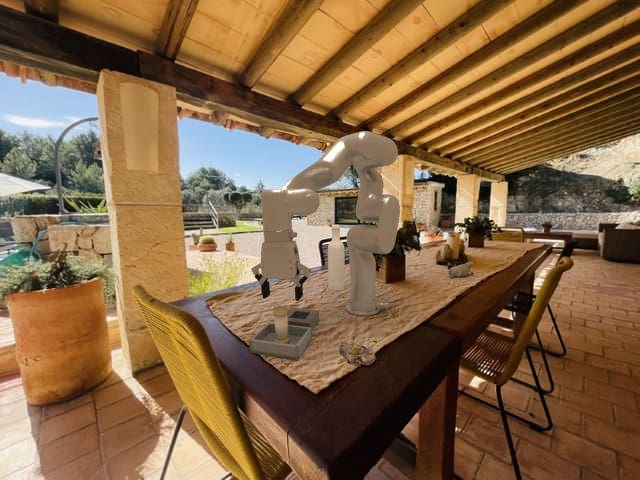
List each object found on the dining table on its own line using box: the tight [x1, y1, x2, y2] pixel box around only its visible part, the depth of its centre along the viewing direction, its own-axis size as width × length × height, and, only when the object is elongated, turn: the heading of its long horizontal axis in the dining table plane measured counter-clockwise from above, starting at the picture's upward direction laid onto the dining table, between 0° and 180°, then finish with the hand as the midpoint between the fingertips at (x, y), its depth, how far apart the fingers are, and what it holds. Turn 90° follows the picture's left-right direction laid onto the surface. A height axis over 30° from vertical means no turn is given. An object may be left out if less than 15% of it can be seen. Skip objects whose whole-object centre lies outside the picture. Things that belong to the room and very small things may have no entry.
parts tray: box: [248, 322, 313, 361], centre depth 72 cm, size 14×11×4 cm
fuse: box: [272, 305, 289, 344], centre depth 71 cm, size 4×4×10 cm
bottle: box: [327, 224, 346, 292], centre depth 120 cm, size 8×8×30 cm
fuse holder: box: [287, 307, 320, 331], centre depth 84 cm, size 10×10×4 cm
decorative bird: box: [448, 261, 474, 279], centre depth 137 cm, size 5×16×8 cm, turn 113°
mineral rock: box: [338, 341, 376, 367], centre depth 67 cm, size 11×4×8 cm
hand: (282, 298), depth 71 cm, fingers open, 9 cm apart
